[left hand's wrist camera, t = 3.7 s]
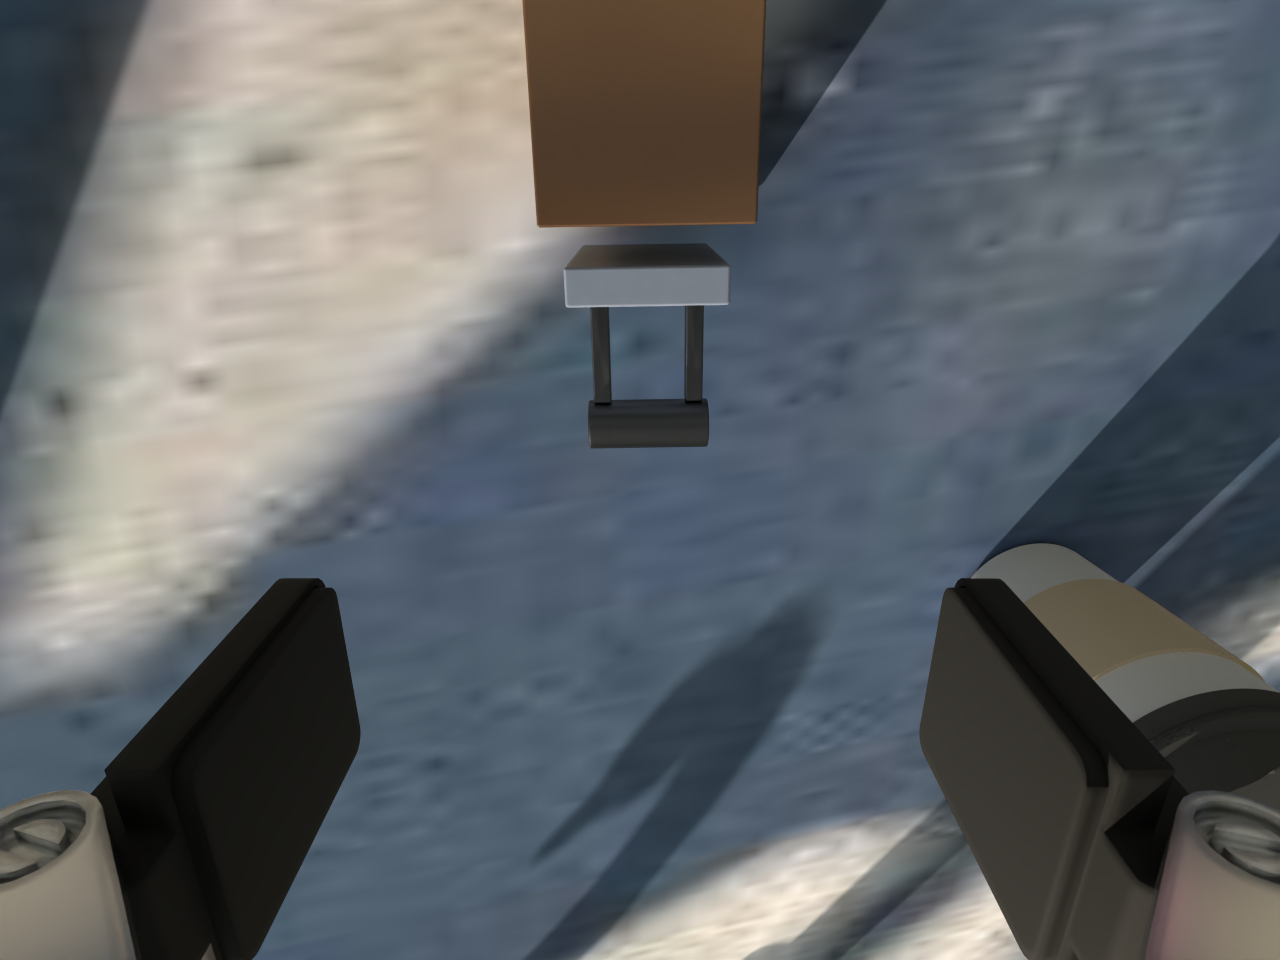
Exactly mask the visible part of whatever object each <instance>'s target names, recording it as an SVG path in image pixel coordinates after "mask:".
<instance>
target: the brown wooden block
mask: <svg viewBox="0 0 1280 960" xmlns="http://www.w3.org/2000/svg"><path fill="white" fill-rule="evenodd" d="M765 14H766V0H523V15H524V30H525V46H526V61H527V77H528V92H529V108H530V123H531V138H532V154H533V169H534V185H535V200H536V216H537V226H538V227H591V226H649V225H707V224H755V223H756V222H757V209H758V185H759V160H760V136H761V111H762V87H763V63H764V38H765Z"/></svg>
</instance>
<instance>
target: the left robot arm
mask: <svg viewBox="0 0 1280 960" xmlns="http://www.w3.org/2000/svg"><path fill="white" fill-rule="evenodd" d="M359 743H360V724H359V718H358V713H357V707H356V701H355V696H354V690H353V684H352V679H351V673H350V667H349V662H348V656H347V650H346V645H345V639H344V633H343V628H342V622H341V616H340V611H339V605H338V599H337V595H336V592H335V590H334V589H333V588H325V585H324V583H323V581H322V580H320V579H319V578H283V579H279V580H278V581H276V582H275V583H274V584H273V585H272V587H271V588H270V589H269V590H268V591H267V592H266V593H265V594H264V595H263V596H262V597H261V599H260V600H259V601H258V602H257V603H256V604H255V605H254V606H253V607H252V608H251V610H250V611H249V612H248V613H247V614H246V615H245V616H244V617H243V618H242V619H241V621H240V622H239V623H238V624H237V625H236V626H235V627H234V628H233V629H232V630H231V632H230V633H229V634H228V635H227V636H226V637H225V638H224V639H223V640H222V641H221V643H220V644H219V645H218V646H217V647H216V648H215V649H214V650H213V651H212V652H211V653H210V655H209V656H208V657H207V658H206V659H205V660H204V661H203V662H202V663H201V664H200V666H199V667H198V668H197V669H196V670H195V671H194V672H193V673H192V674H191V675H190V677H189V678H188V679H187V680H186V681H185V682H184V683H183V684H182V685H181V686H180V688H179V689H178V690H177V691H176V692H175V693H174V694H173V695H172V696H171V697H170V698H169V700H168V701H167V702H166V703H165V704H164V705H163V706H162V707H161V708H160V709H159V711H158V712H157V713H156V714H155V715H154V716H153V717H152V718H151V719H150V720H149V722H148V723H147V724H146V725H145V726H144V727H143V728H142V729H141V730H140V731H139V733H138V734H137V735H136V736H135V737H134V738H133V739H132V740H131V741H130V742H129V744H128V745H127V746H126V747H125V748H124V749H123V750H122V751H121V752H120V753H119V754H118V756H117V757H116V758H115V759H114V760H113V761H112V762H111V763H110V764H109V765H108V767H107V768H106V769H105V773H106V777H105V778H104V780H103V781H102V782H101V783H100V784H99V785H98V786H97V787H96V789H95V790H94V791H93V792H92V793H91V794H88V793H86V792H84V791H71V790H63V791H57V792H50V793H44V794H41V795H37V796H34V797H31V798H28V799H25V800H22V801H19V802H17V803H15V804H12V805H10V806H8V807H6V808H4V809H2V810H0V960H252V959H253V958H254V957H255V956H256V954H257V952H258V951H259V949H260V947H261V945H262V943H263V941H264V939H265V937H266V935H267V933H268V931H269V929H270V927H271V925H272V923H273V921H274V919H275V917H276V915H277V913H278V911H279V909H280V907H281V905H282V903H283V901H284V899H285V897H286V895H287V893H288V891H289V889H290V887H291V885H292V883H293V881H294V879H295V877H296V875H297V873H298V871H299V869H300V867H301V865H302V862H303V860H304V858H305V856H306V854H307V852H308V850H309V848H310V846H311V844H312V842H313V840H314V838H315V836H316V834H317V832H318V830H319V828H320V826H321V824H322V822H323V820H324V818H325V816H326V814H327V812H328V810H329V808H330V806H331V804H332V802H333V800H334V798H335V796H336V794H337V792H338V790H339V788H340V786H341V784H342V782H343V780H344V778H345V776H346V774H347V772H348V770H349V768H350V766H351V764H352V762H353V760H354V758H355V756H356V753H357V751H358V747H359ZM920 743H921V747H922V751H923V753H924V756H925V758H926V760H927V762H928V764H929V766H930V768H931V770H932V772H933V774H934V776H935V778H936V780H937V782H938V784H939V786H940V788H941V790H942V792H943V794H944V796H945V798H946V800H947V802H948V804H949V806H950V808H951V810H952V812H953V814H954V816H955V818H956V820H957V822H958V824H959V826H960V828H961V830H962V832H963V834H964V836H965V838H966V840H967V842H968V844H969V846H970V848H971V850H972V852H973V854H974V856H975V858H976V860H977V862H978V865H979V867H980V869H981V871H982V873H983V875H984V877H985V879H986V881H987V883H988V885H989V887H990V889H991V891H992V893H993V895H994V897H995V899H996V901H997V903H998V905H999V907H1000V909H1001V911H1002V913H1003V915H1004V917H1005V919H1006V921H1007V923H1008V925H1009V927H1010V929H1011V931H1012V933H1013V935H1014V937H1015V939H1016V941H1017V943H1018V945H1019V947H1020V949H1021V951H1022V952H1023V954H1024V956H1025V957H1026V958H1027V959H1028V960H1280V810H1278V809H1276V808H1274V807H1272V806H1270V805H1268V804H1265V803H1263V802H1261V801H1258V800H1255V799H1252V798H1249V797H1246V796H1243V795H1239V794H1236V793H1230V792H1223V791H1217V790H1209V791H1196V792H1194V793H1192V794H1189V793H1188V792H1187V791H1186V790H1185V789H1184V787H1183V786H1182V785H1181V784H1180V783H1179V782H1178V781H1177V780H1176V778H1175V777H1174V773H1175V769H1174V768H1173V767H1172V765H1171V764H1170V763H1169V762H1168V761H1167V760H1166V759H1165V758H1164V757H1163V756H1162V754H1161V753H1160V752H1159V751H1158V750H1157V749H1156V748H1155V747H1154V746H1153V745H1152V744H1151V742H1150V741H1149V740H1148V739H1147V738H1146V737H1145V736H1144V735H1143V734H1142V733H1141V731H1140V730H1139V729H1138V728H1137V727H1136V726H1135V725H1134V724H1133V723H1132V722H1131V720H1130V719H1129V718H1128V717H1127V716H1126V715H1125V714H1124V713H1123V712H1122V711H1121V709H1120V708H1119V707H1118V706H1117V705H1116V704H1115V703H1114V702H1113V701H1112V700H1111V698H1110V697H1109V696H1108V695H1107V694H1106V693H1105V692H1104V691H1103V690H1102V689H1101V688H1100V686H1099V685H1098V684H1097V683H1096V682H1095V681H1094V680H1093V679H1092V678H1091V677H1090V675H1089V674H1088V673H1087V672H1086V671H1085V670H1084V669H1083V668H1082V667H1081V666H1080V664H1079V663H1078V662H1077V661H1076V660H1075V659H1074V658H1073V657H1072V656H1071V655H1070V653H1069V652H1068V651H1067V650H1066V649H1065V648H1064V647H1063V646H1062V645H1061V644H1060V643H1059V641H1058V640H1057V639H1056V638H1055V637H1054V636H1053V635H1052V634H1051V633H1050V632H1049V630H1048V629H1047V628H1046V627H1045V626H1044V625H1043V624H1042V623H1041V622H1040V621H1039V619H1038V618H1037V617H1036V616H1035V615H1034V614H1033V613H1032V612H1031V611H1030V610H1029V608H1028V607H1027V606H1026V605H1025V604H1024V603H1023V602H1022V601H1021V600H1020V599H1019V597H1018V596H1017V595H1016V594H1015V593H1014V592H1013V591H1012V590H1011V589H1010V588H1009V587H1008V585H1007V584H1006V583H1005V582H1004V581H1002V580H1001V579H997V578H961V579H960V580H958V581H957V583H956V585H955V588H947V589H946V590H945V592H944V595H943V599H942V605H941V611H940V616H939V622H938V628H937V633H936V639H935V645H934V650H933V656H932V662H931V667H930V673H929V679H928V684H927V690H926V696H925V701H924V707H923V713H922V718H921V724H920Z"/></svg>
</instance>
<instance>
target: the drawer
mask: <svg viewBox="0 0 1280 960" xmlns="http://www.w3.org/2000/svg"><path fill="white" fill-rule="evenodd" d="M730 279H731V267H730V265H729V264H728V263H727V262H726V261H725V260H724V259H723V258H721V257H720V256H719V255H718V254H717V253H716V252H715V251H714V250H713V249H712V248H711V247H709V246H708V245H707V244H705V243H700V244H641V245H584V246H582V248H581V249H580V250H579V251H578V252H577V254H576V255H575V256H574V257H573V258H572V260H571V261H570V262H569V263H568V264H567V266H566V267H565V268H564V287H565V305H566V307H590V313H591V338H592V362H593V387H594V400H591V401H589V407H588V430H589V444H590V448H649V447H706V446H707V445H708V439H709V410H708V402H707V399H702V382H703V319H704V305H728V304H729V303H730ZM628 306H685V380H684V397H685V399H647V400H611V399H612V393H611V362H610V330H609V307H628Z"/></svg>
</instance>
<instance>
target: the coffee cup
mask: <svg viewBox="0 0 1280 960" xmlns="http://www.w3.org/2000/svg"><path fill="white" fill-rule="evenodd" d="M971 578H997V579H1001V580H1002V581H1004V582H1005V583H1006V584H1007V585H1008V587H1009V588H1010V589H1011V590H1012V591H1013V592H1014V593H1015V594H1016V595H1017V596H1018V597H1019V599H1020V600H1021V601H1022V602H1023V603H1024V604H1025V605H1026V606H1027V607H1028V608H1029V610H1030V611H1031V612H1032V613H1033V614H1034V615H1035V616H1036V617H1037V618H1038V619H1039V621H1040V622H1041V623H1042V624H1043V625H1044V626H1045V627H1046V628H1047V629H1048V630H1049V632H1050V633H1051V634H1052V635H1053V636H1054V637H1055V638H1056V639H1057V640H1058V641H1059V643H1060V644H1061V645H1062V646H1063V647H1064V648H1065V649H1066V650H1067V651H1068V652H1069V653H1070V655H1071V656H1072V657H1073V658H1074V659H1075V660H1076V661H1077V662H1078V663H1079V664H1080V666H1081V667H1082V668H1083V669H1084V670H1085V671H1086V672H1087V673H1088V674H1089V675H1090V677H1091V678H1092V679H1093V680H1094V681H1095V682H1096V683H1097V684H1098V685H1099V686H1100V688H1101V689H1102V690H1103V691H1104V692H1105V693H1106V694H1107V695H1108V696H1109V697H1110V698H1111V700H1112V701H1113V702H1114V703H1115V704H1116V705H1117V706H1118V707H1119V708H1120V709H1121V711H1122V712H1123V713H1124V714H1125V715H1126V716H1127V717H1128V718H1129V719H1130V720H1131V722H1132V723H1133V724H1134V725H1135V726H1136V727H1137V728H1138V729H1139V730H1140V731H1141V733H1142V734H1143V735H1144V736H1145V737H1146V738H1147V739H1148V740H1149V741H1150V742H1151V744H1152V745H1153V746H1154V747H1155V748H1156V749H1157V750H1158V751H1159V752H1160V753H1161V754H1162V756H1163V757H1164V758H1165V759H1166V760H1167V761H1168V762H1169V763H1170V764H1171V765H1172V767H1173V768H1174V769H1175V773H1174V777H1175V778H1176V780H1177V781H1178V782H1179V783H1180V784H1181V785H1182V786H1183V787H1184V789H1185V790H1186V791H1187V792H1188V793H1189V794H1192V793H1194V792H1196V791H1209V790H1217V791H1223V792H1230V793H1236V794H1239V795H1243V796H1246V797H1249V798H1252V799H1255V800H1258V801H1261V802H1263V803H1265V804H1268V805H1270V806H1272V807H1274V808H1276V809H1278V810H1280V692H1279V691H1277V690H1276V689H1274V688H1273V687H1272V686H1270V685H1269V684H1267V683H1266V682H1265V681H1264V679H1263V678H1262V677H1261V676H1260V675H1259V674H1258V673H1257V672H1256V671H1255V670H1254V669H1253V668H1252V667H1251V666H1249V665H1248V664H1246V663H1245V662H1243V661H1242V660H1240V659H1239V658H1237V657H1236V656H1235V655H1233V654H1232V653H1230V652H1229V651H1227V650H1226V649H1224V648H1223V647H1221V646H1220V645H1218V644H1217V643H1215V642H1214V641H1212V640H1211V639H1209V638H1208V637H1206V636H1205V635H1203V634H1202V633H1200V632H1199V631H1197V630H1196V629H1194V628H1193V627H1191V626H1190V625H1189V624H1187V623H1186V622H1184V621H1183V620H1181V619H1180V618H1178V617H1177V616H1175V615H1174V614H1172V613H1171V612H1169V611H1168V610H1166V609H1165V608H1163V607H1162V606H1160V605H1159V604H1157V603H1156V602H1154V601H1153V600H1151V599H1150V598H1148V597H1147V596H1146V595H1144V594H1143V593H1141V592H1140V591H1138V590H1137V589H1135V588H1133V587H1131V586H1129V585H1126V584H1124V583H1121V582H1118V581H1117V580H1115V579H1114V578H1113V577H1111V576H1110V575H1108V574H1107V573H1105V572H1104V571H1102V570H1101V569H1099V568H1098V567H1097V566H1095V565H1094V564H1092V563H1091V562H1089V561H1088V560H1086V559H1085V558H1083V557H1082V556H1080V555H1079V554H1078V553H1076V552H1074V551H1073V550H1071V549H1068V548H1066V547H1063V546H1060V545H1055V544H1046V543H1037V544H1028V545H1023V546H1019V547H1016V548H1013V549H1010V550H1008V551H1005V552H1003V553H1001V554H999V555H997V556H996V557H994V558H992V559H991V560H989V561H988V562H987V563H985V564H984V565H983V566H982V567H981V568H980V569H979V570H977V572H976V573H975V574H974V575H973V576H972V577H971Z"/></svg>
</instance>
